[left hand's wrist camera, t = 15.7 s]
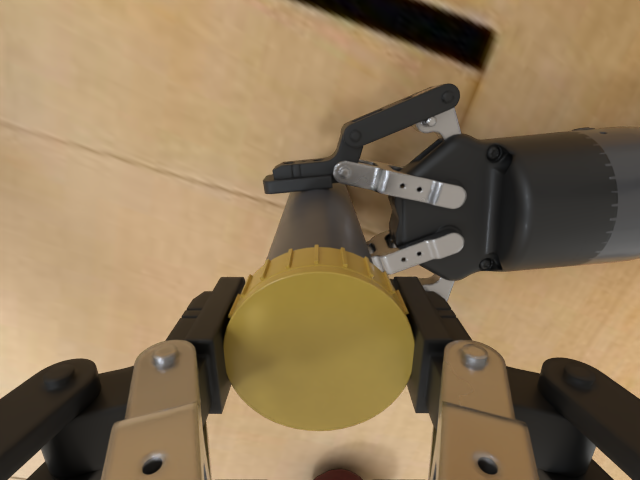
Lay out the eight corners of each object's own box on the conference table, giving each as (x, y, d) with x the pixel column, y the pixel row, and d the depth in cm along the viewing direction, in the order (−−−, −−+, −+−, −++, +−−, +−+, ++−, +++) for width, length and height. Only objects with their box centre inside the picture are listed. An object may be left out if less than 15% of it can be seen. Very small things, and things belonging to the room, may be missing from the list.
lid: (221, 371, 11) (205, 413, 10) (252, 223, 10) (239, 246, 8) (373, 403, 12) (381, 448, 10) (429, 267, 10) (448, 296, 9)
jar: (296, 162, 25) (255, 258, 9) (354, 175, 26) (416, 290, 9) (285, 218, 27) (232, 388, 10) (340, 229, 27) (372, 412, 11)
